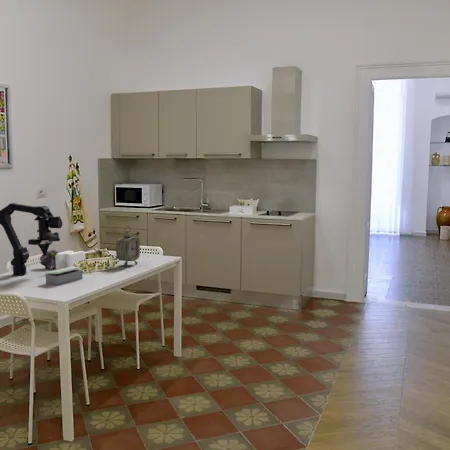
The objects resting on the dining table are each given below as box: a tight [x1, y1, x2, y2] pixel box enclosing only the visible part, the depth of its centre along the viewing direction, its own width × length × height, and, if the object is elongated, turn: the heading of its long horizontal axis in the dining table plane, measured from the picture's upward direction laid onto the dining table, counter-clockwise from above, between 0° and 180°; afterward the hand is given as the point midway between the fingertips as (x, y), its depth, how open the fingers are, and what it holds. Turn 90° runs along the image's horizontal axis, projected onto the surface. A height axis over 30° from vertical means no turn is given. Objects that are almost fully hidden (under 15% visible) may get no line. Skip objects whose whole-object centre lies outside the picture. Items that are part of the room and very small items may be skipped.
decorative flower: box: [39, 249, 60, 270], centre depth 333 cm, size 15×12×15 cm
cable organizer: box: [55, 250, 86, 270], centre depth 323 cm, size 15×11×12 cm
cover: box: [45, 267, 82, 275], centre depth 295 cm, size 9×18×1 cm, turn 150°
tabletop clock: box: [115, 225, 141, 268], centre depth 338 cm, size 14×9×25 cm, turn 158°
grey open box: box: [45, 270, 83, 287], centre depth 296 cm, size 9×18×5 cm, turn 150°
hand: (45, 254), depth 310 cm, fingers closed
